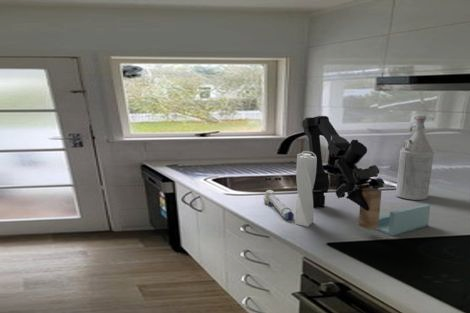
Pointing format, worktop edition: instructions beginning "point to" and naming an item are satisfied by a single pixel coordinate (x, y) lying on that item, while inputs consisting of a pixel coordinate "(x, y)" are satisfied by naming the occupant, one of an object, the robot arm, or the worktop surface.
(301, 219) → the skyscraper
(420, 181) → the white bottle
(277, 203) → the syringe
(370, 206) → the walnut box
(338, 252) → the worktop surface
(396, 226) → the backboard channel
